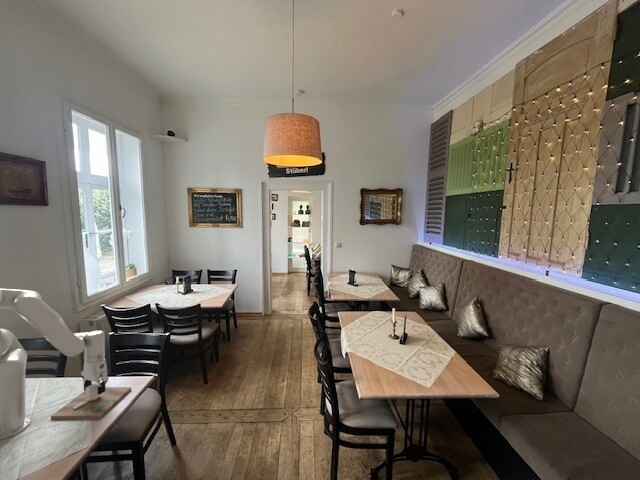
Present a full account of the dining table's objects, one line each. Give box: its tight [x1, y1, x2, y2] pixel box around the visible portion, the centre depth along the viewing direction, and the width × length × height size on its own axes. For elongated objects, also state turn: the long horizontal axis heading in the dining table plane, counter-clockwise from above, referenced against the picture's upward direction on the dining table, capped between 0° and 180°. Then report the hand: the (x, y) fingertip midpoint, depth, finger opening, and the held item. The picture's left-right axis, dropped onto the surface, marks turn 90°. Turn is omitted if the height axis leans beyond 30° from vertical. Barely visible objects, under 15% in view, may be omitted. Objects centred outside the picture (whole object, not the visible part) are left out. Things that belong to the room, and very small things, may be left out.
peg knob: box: [74, 380, 103, 409], centre depth 130 cm, size 12×3×7 cm, turn 164°
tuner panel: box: [50, 386, 132, 420], centre depth 131 cm, size 22×21×2 cm
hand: (94, 390), depth 132 cm, fingers open, 8 cm apart
